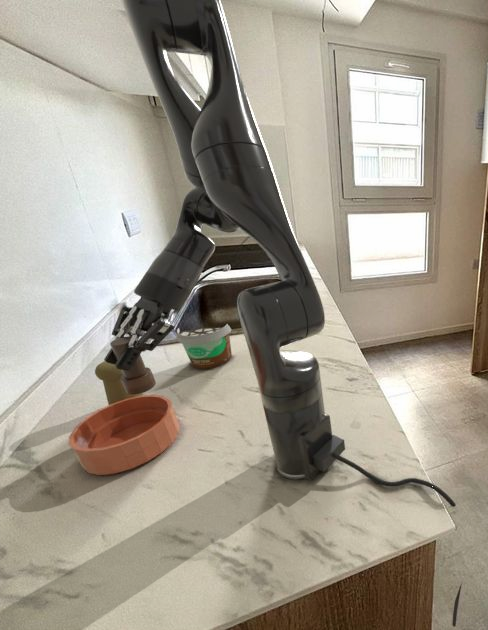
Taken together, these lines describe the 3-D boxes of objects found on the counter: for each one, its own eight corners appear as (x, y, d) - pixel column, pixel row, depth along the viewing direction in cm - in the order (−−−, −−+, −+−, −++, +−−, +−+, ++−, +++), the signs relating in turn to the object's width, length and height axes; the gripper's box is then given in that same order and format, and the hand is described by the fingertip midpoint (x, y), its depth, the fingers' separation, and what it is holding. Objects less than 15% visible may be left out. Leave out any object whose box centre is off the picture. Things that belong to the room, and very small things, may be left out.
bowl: (196, 433, 65) (187, 409, 62) (106, 490, 53) (92, 464, 51) (156, 409, 71) (147, 386, 68) (68, 456, 59) (53, 431, 57)
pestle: (160, 384, 63) (143, 338, 58) (133, 397, 59) (112, 349, 55) (148, 377, 64) (130, 332, 60) (121, 390, 61) (100, 343, 57)
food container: (178, 374, 82) (165, 339, 78) (186, 361, 88) (175, 328, 83) (232, 368, 85) (223, 334, 81) (237, 355, 91) (229, 323, 86)
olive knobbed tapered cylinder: (104, 408, 71) (83, 365, 66) (137, 392, 76) (119, 351, 71) (118, 418, 68) (97, 373, 64) (151, 401, 73) (134, 359, 68)
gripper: (130, 264, 62) (72, 349, 57) (172, 276, 56) (111, 372, 51) (169, 283, 69) (120, 361, 64) (210, 296, 63) (159, 382, 58)
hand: (116, 365), depth 58 cm, fingers closed on pestle, 3 cm apart
